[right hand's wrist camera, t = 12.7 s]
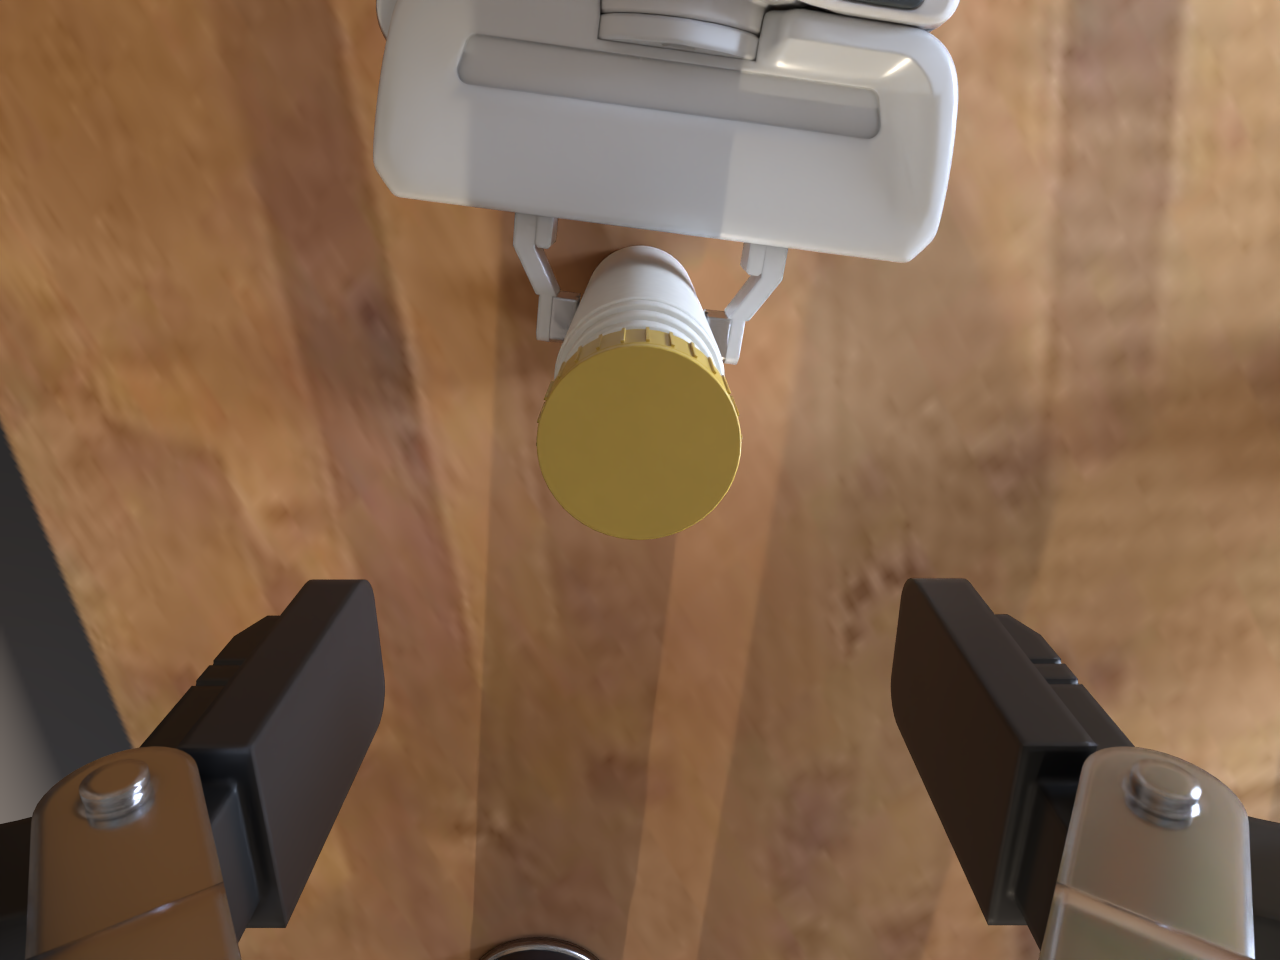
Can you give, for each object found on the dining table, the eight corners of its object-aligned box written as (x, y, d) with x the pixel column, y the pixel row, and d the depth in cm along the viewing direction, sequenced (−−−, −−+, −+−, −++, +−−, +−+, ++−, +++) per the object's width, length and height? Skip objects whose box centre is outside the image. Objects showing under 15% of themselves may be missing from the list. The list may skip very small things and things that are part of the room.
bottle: (680, 364, 40) (718, 557, 21) (577, 342, 40) (515, 518, 20) (705, 258, 38) (771, 359, 19) (597, 234, 38) (550, 313, 19)
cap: (709, 524, 22) (716, 559, 20) (529, 489, 22) (518, 521, 20) (755, 348, 20) (767, 367, 19) (561, 307, 20) (552, 323, 18)
